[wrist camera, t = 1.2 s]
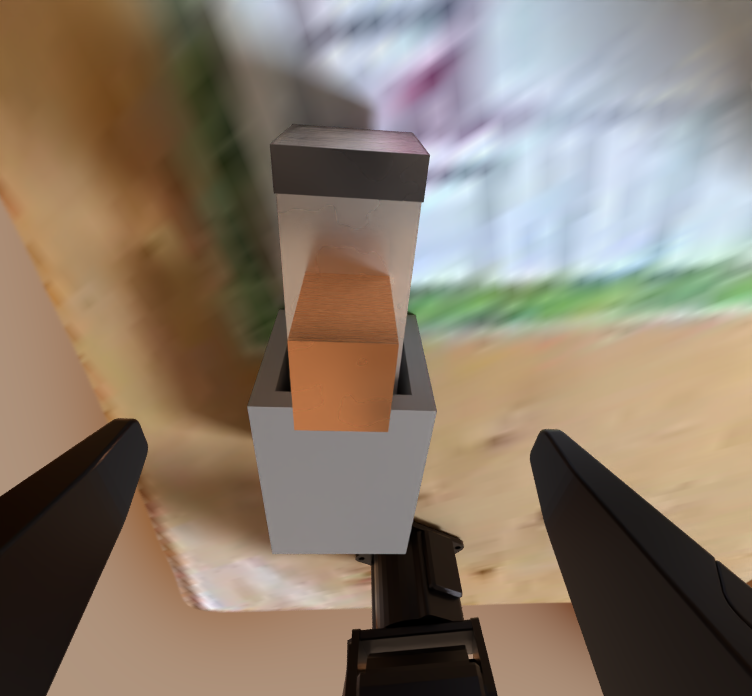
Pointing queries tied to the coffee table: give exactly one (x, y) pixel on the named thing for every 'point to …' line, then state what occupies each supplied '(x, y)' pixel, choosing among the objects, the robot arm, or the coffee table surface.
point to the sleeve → (340, 461)
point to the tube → (346, 267)
